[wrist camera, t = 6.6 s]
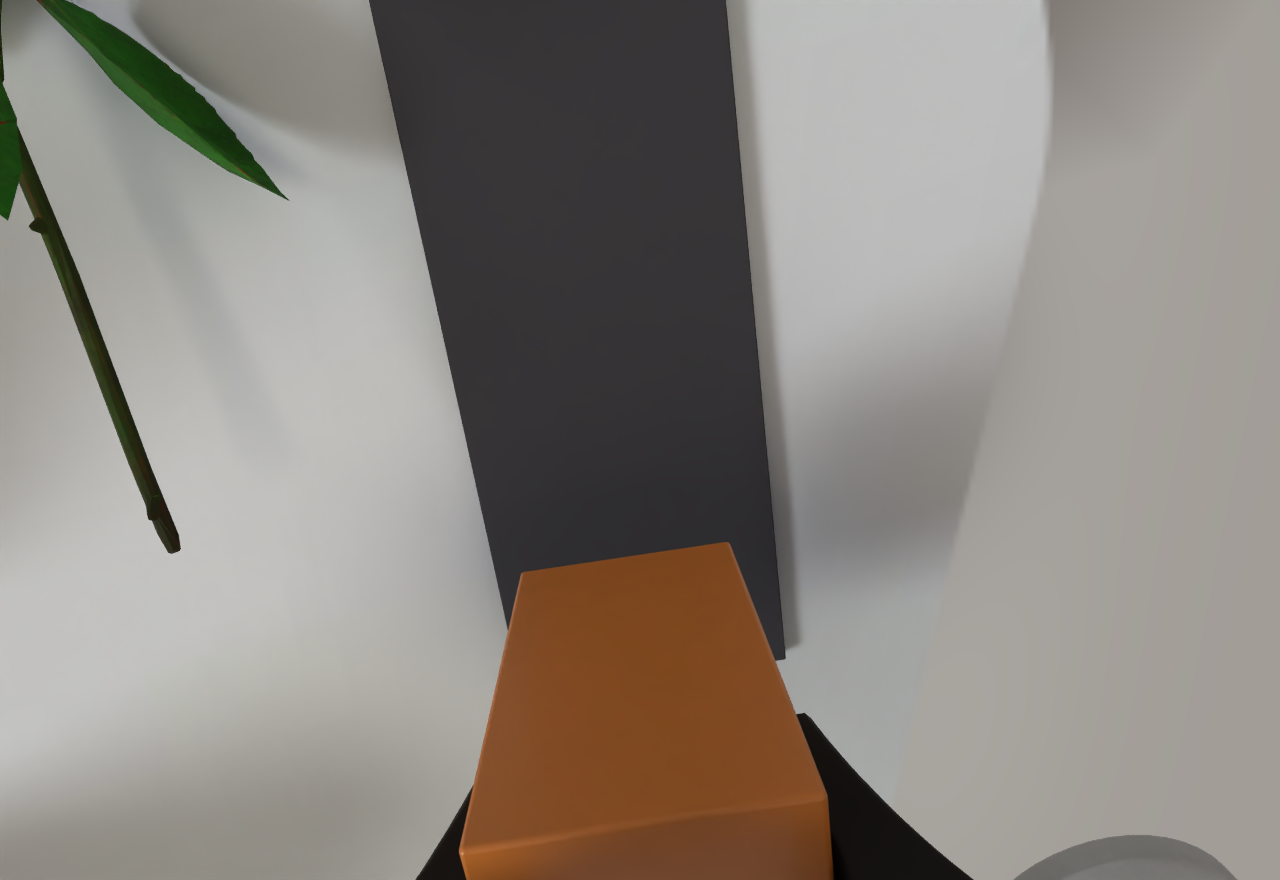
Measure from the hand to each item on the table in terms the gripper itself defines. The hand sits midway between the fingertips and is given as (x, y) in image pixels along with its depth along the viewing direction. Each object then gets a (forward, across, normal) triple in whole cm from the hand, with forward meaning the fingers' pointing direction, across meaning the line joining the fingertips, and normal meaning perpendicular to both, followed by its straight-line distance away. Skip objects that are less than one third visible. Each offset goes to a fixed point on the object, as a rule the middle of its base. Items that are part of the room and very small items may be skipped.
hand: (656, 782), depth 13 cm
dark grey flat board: (+9, 0, -9) cm, 13 cm away
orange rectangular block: (+3, 0, 0) cm, 3 cm away
